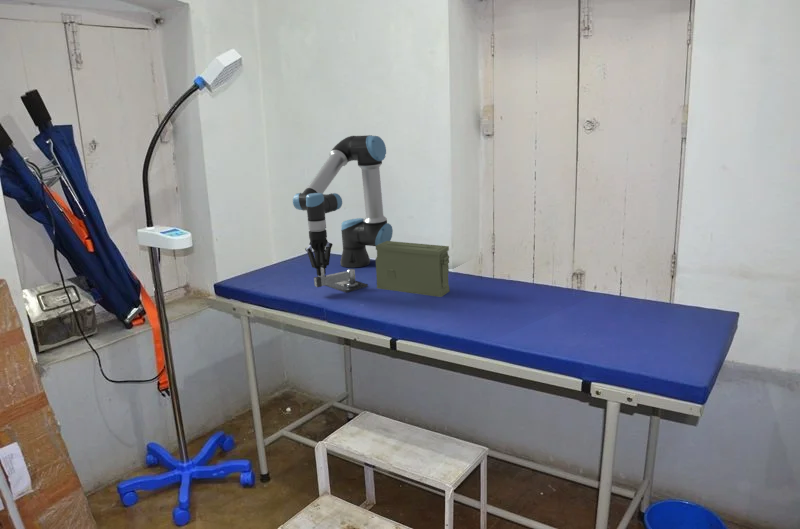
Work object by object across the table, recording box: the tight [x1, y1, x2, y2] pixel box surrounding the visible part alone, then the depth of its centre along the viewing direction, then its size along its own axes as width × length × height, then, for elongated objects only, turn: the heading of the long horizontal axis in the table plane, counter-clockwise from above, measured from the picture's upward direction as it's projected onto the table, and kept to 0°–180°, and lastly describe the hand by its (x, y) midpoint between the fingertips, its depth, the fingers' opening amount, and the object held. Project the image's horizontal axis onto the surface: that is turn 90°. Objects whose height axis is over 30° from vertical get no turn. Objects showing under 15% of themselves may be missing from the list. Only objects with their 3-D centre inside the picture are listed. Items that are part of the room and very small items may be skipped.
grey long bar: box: [313, 268, 357, 288], centre depth 263 cm, size 19×3×6 cm, turn 123°
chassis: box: [324, 280, 368, 294], centre depth 274 cm, size 12×22×2 cm, turn 41°
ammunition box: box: [375, 240, 451, 298], centre depth 260 cm, size 10×33×20 cm, turn 60°
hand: (322, 282), depth 263 cm, fingers closed
